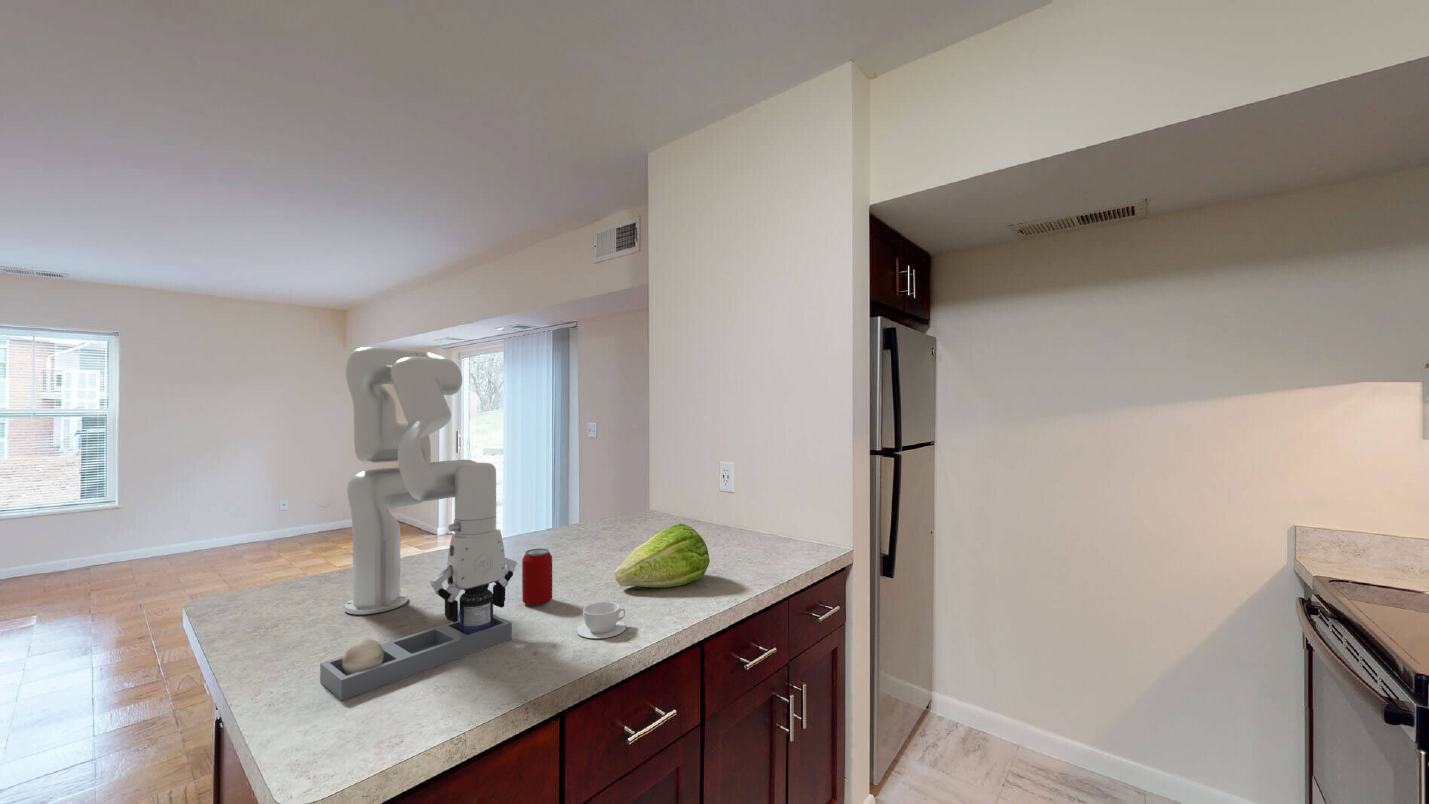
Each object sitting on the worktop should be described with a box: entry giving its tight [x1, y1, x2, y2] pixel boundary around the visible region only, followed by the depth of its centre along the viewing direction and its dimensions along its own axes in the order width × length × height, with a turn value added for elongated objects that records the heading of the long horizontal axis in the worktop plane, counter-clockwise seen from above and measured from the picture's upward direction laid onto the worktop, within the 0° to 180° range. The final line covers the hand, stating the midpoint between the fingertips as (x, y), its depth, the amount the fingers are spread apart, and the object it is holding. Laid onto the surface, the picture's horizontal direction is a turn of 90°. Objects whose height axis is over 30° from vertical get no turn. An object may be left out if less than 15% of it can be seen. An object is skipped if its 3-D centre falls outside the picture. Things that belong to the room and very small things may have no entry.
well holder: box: [319, 614, 513, 701], centre depth 102 cm, size 10×30×3 cm, turn 142°
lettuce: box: [613, 523, 711, 588], centre depth 145 cm, size 15×24×16 cm
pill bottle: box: [459, 583, 494, 635], centre depth 111 cm, size 6×6×11 cm
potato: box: [342, 638, 384, 675], centre depth 95 cm, size 6×6×6 cm
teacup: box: [576, 601, 627, 639], centre depth 115 cm, size 10×10×5 cm
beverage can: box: [521, 547, 553, 607], centre depth 132 cm, size 7×7×12 cm
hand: (476, 612), depth 110 cm, fingers open, 9 cm apart
